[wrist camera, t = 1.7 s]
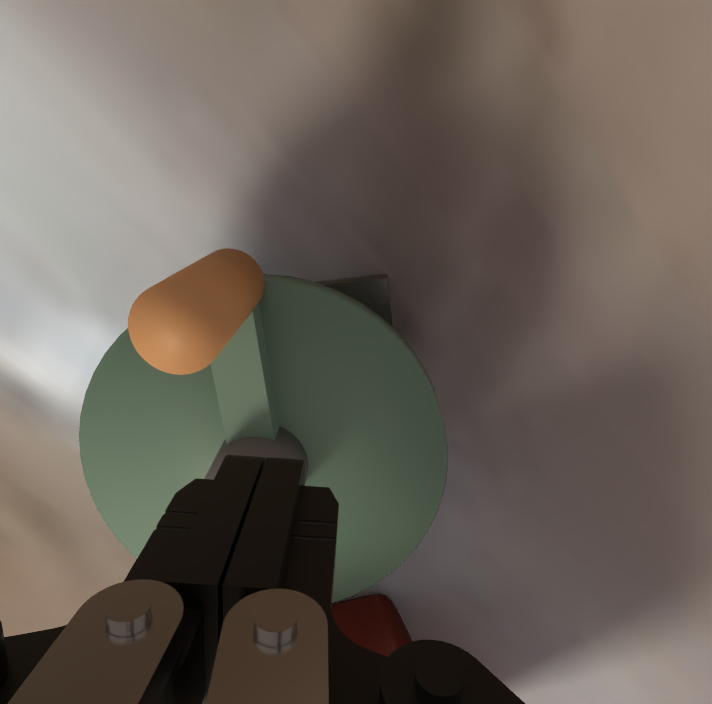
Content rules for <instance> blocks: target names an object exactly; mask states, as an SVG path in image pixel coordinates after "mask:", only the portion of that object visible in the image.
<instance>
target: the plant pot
mask: <svg viewBox="0 0 712 704" xmlns="http://www.w3.org/2000/svg"><path fill="white" fill-rule="evenodd" d="M331 612H332V616H333V618H334V621H335V623H336V624H337V626H338V627H339V629H340V630H341V631H342V632H343V633H344V634H345V635H346V636H347V637H348V638H349V639H350V640H352V641H353V642H355V643H356V644H358V645H360V646H361V647H364V648H366V649H368V650H371V651H373V652H376V653H379V654H382V655H384V656H387V657H389V656H390V655H391V654H392V652H393V651H395V650H396V649H398V648H399V647H400V646H403V645H405V644H407V643H410V642H412V640H411V637H410V635H409V633H408V631H407V629H406V627H405V625H404V622H403V620H402V618H401V616H400V614H399V613H398V611H397V609H396V607H395V606H394V604H393V602H392V601H391V600H390V599H389V598H387V597H386V596H384V595H372V596H367V597H362V598H358V599H353V600H349V601H345V602H340V603H336V604H332V609H331Z"/></svg>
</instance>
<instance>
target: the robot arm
mask: <svg viewBox="0 0 712 704" xmlns="http://www.w3.org/2000/svg"><path fill="white" fill-rule="evenodd" d="M304 485H305V460H302V459H287V458H273V457H267V458H266V459H265V457H256V456H242V455H226V456H225V458H224V460H223V462H222V464H221V466H220V468H219V470H218V472H217V474H216V476H215V478H214V480H212V479H197V478H196V479H194V480H193V481H191V482H190V483H189V484H187V485H186V486H184V487H183V488H182V489H180V490H179V491H178V492H176V493H175V495H174V497H173V498H172V500H171V502H170V503H169V505H168V507H167V509H166V510H165V514H163V515H162V517H161V519H160V521H159V522H158V524H157V526H156V530H154V531H153V532H152V534H151V536H150V538H149V539H148V541H147V543H146V544H145V546H144V548H143V550H142V551H141V553H140V555H139V556H138V558H137V560H136V562H135V563H134V565H133V567H132V568H131V570H130V572H129V573H128V575H127V577H126V579H125V580H124V582H122V583H118V584H115V585H112V586H110V587H107V588H105V589H104V590H102V591H100V592H98V593H97V594H95V595H94V596H92V597H91V598H90V599H88V600H87V601H86V602H85V603H84V604H83V605H82V606H81V607H80V608H79V610H78V611H77V612H76V614H75V615H74V616H73V618H72V619H71V620H70V622H69V623H68V624H67V625H65V626H62V627H58V628H53V629H48V630H43V631H37V632H32V633H26V634H21V635H15V636H10V637H4V635H3V629H2V623H1V621H0V704H525V703H524V702H523V701H522V700H521V699H520V698H518V697H517V696H516V695H515V694H514V693H513V692H512V691H511V690H510V689H509V688H507V687H506V686H505V685H504V684H503V683H502V682H501V681H500V680H499V679H498V678H497V677H495V676H494V675H493V674H492V673H491V672H490V671H489V670H488V669H487V668H486V667H485V666H483V665H482V664H481V663H480V662H479V661H478V660H477V659H476V658H474V657H473V656H472V655H471V654H469V653H468V652H466V651H464V650H463V649H461V648H459V647H457V646H455V645H452V644H449V643H446V642H442V641H436V640H419V641H413V642H410V643H407V644H405V645H403V646H400V647H399V648H398V649H396V650H395V651H393V652H392V654H391V655H390V656H389V657H387V656H384V655H382V654H379V653H376V652H373V651H371V650H368V649H366V648H364V647H361V646H360V645H358V644H356V643H355V642H353V641H352V640H350V639H349V638H348V637H347V636H346V635H345V634H344V633H343V632H342V631H341V630H340V629H339V627H338V626H337V624H336V623H335V621H334V618H333V616H332V612H331V609H332V597H333V584H334V572H335V557H336V542H337V527H338V511H339V503H338V501H337V500H336V498H335V496H334V495H333V493H332V491H331V489H330V488H329V487H316V486H304Z"/></svg>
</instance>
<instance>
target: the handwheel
mask: <svg viewBox="0 0 712 704" xmlns="http://www.w3.org/2000/svg"><path fill="white" fill-rule="evenodd" d="M79 442H80V455H81V462H82V466H83V471H84V475H85V480H86V482H87V485H88V488H89V490H90V493H91V496H92V499H93V501H94V503H95V504H96V506H97V508H98V510H99V512H100V514H101V516H102V518H103V519H104V521H105V522H106V524H107V525H108V527H109V528H110V529H111V531H112V532H113V534H114V535H115V536H116V538H117V539H118V540H119V541H120V542H121V543H122V544H123V545H124V547H125V548H126V549H127V550H128V551H129V552H130V553H131V554H132V555H133V556H134V557H135V558H138V556H139V555H140V553H141V551H142V550H143V548H144V546H145V544H146V543H147V541H148V539H149V538H150V536H151V534H152V532H153V531H154V530H156V526H157V524H158V522H159V521H160V519H161V517H162V515H163V514H165V510H166V509H167V507H168V505H169V503H170V502H171V500H172V498H173V497H174V495H175V493H176V492H178V491H179V490H180V489H182V488H183V487H184V486H186V485H187V484H189V483H190V482H191V481H193V480H194V479H196V478H197V479H212V480H214V478H215V476H216V474H217V472H218V470H219V468H220V466H221V464H222V462H223V460H224V458H225V456H226V455H242V456H256V457H265V459H266V458H267V457H273V458H287V459H302V460H305V485H304V486H316V487H329V488H330V489H331V491H332V493H333V495H334V496H335V498H336V500H337V501H338V503H339V511H338V527H337V542H336V557H335V572H334V584H333V597H332V603H334V602H337V601H340V600H342V599H345V598H348V597H351V596H353V595H355V594H357V593H359V592H361V591H363V590H365V589H367V588H369V587H371V586H372V585H374V584H375V583H377V582H378V581H380V580H381V579H383V578H384V577H386V576H387V575H389V574H390V573H391V572H392V571H393V570H394V569H396V568H397V567H398V566H399V565H400V564H401V563H402V562H404V561H405V559H406V558H407V557H408V556H409V555H410V554H411V553H412V551H413V550H414V549H415V548H416V547H417V546H418V544H419V543H420V541H421V540H422V538H423V537H424V535H425V534H426V532H427V531H428V529H429V527H430V525H431V523H432V521H433V519H434V517H435V515H436V513H437V511H438V508H439V505H440V502H441V498H442V495H443V492H444V487H445V481H446V475H447V456H448V447H447V440H446V433H445V425H444V422H443V419H442V415H441V412H440V408H439V405H438V401H437V398H436V395H435V391H434V388H433V386H432V384H431V382H430V379H429V377H428V375H427V373H426V371H425V369H424V367H423V365H422V364H421V362H420V361H419V359H418V358H417V356H416V354H415V353H414V351H413V350H412V349H411V347H410V346H409V345H408V344H407V343H406V341H405V340H404V339H403V338H402V337H401V336H400V334H399V333H398V332H397V331H396V330H395V329H394V328H393V327H391V326H390V325H389V324H388V323H387V322H386V321H385V320H384V319H383V318H382V317H380V316H379V315H378V314H376V313H375V312H373V311H372V310H371V309H369V308H368V307H366V306H365V305H363V304H362V303H360V302H359V301H357V300H355V299H353V298H351V297H349V296H347V295H345V294H343V293H341V292H339V291H337V290H335V289H332V288H329V287H326V286H323V285H321V284H318V283H315V282H312V281H307V280H303V279H298V278H294V277H289V276H278V275H267V274H263V273H262V270H261V268H260V267H259V265H258V264H257V262H256V261H255V260H254V259H253V258H252V257H251V256H249V255H248V254H246V253H244V252H242V251H239V250H236V249H220V250H217V251H215V252H213V253H211V254H209V255H207V256H205V257H204V258H202V259H200V260H198V261H197V262H195V263H193V264H191V265H190V266H188V267H186V268H184V269H182V270H181V271H179V272H177V273H175V274H174V275H172V276H170V277H168V278H166V279H165V280H163V281H161V282H159V283H158V284H156V285H154V286H152V287H151V288H149V289H147V290H146V291H144V292H143V293H142V294H141V295H140V296H139V297H138V298H137V299H136V300H135V302H134V304H133V305H132V308H131V310H130V313H129V318H128V328H127V329H126V330H125V331H124V332H123V333H122V334H121V335H120V336H119V337H118V338H117V340H116V341H115V342H114V343H113V344H112V346H111V347H110V348H109V349H108V351H107V352H106V353H105V355H104V356H103V358H102V360H101V361H100V363H99V365H98V366H97V368H96V370H95V372H94V373H93V376H92V379H91V381H90V384H89V386H88V389H87V391H86V394H85V398H84V403H83V407H82V411H81V417H80V431H79Z"/></svg>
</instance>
